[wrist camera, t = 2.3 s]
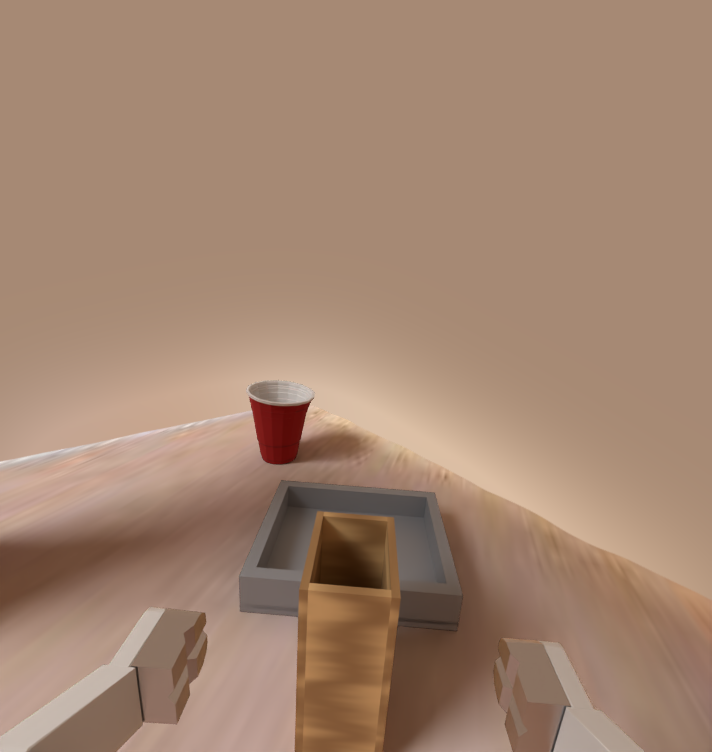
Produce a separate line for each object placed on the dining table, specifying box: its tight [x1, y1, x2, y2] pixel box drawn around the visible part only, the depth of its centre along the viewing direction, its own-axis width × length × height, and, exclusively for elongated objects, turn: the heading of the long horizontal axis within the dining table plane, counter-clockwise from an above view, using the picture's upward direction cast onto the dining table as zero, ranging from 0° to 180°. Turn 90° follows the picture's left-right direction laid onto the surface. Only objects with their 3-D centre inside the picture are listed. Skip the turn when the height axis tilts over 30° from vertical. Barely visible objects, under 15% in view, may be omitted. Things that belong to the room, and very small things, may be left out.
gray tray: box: [239, 480, 463, 631], centre depth 42 cm, size 20×16×4 cm
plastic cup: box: [246, 380, 314, 464], centre depth 62 cm, size 11×11×12 cm
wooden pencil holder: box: [295, 511, 401, 752], centre depth 26 cm, size 6×7×14 cm
